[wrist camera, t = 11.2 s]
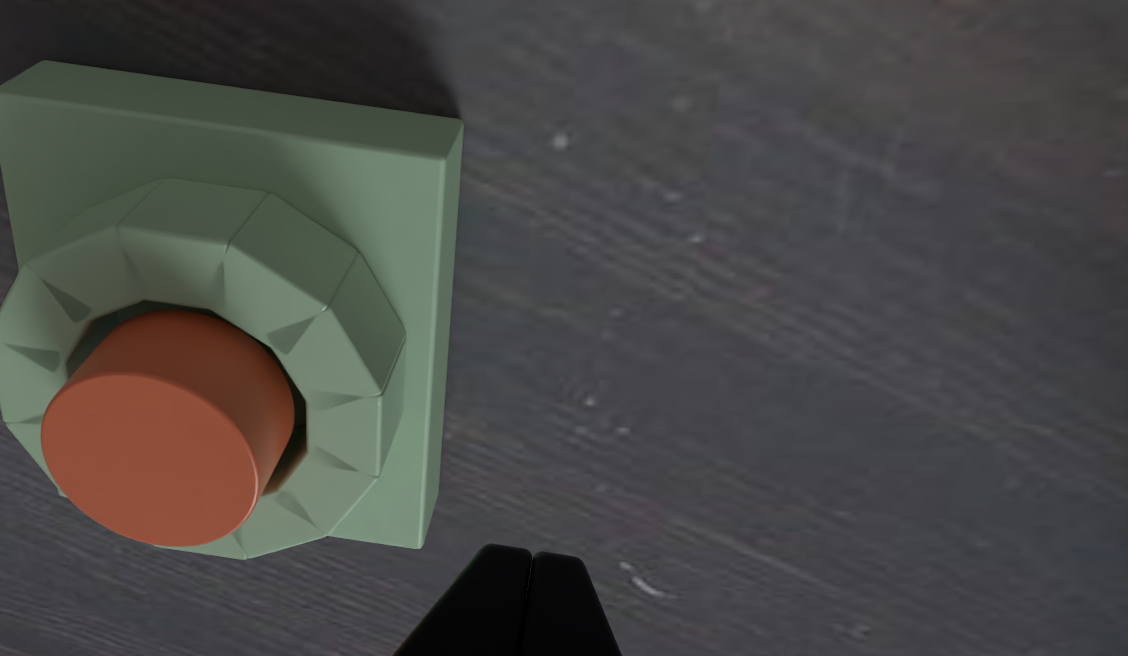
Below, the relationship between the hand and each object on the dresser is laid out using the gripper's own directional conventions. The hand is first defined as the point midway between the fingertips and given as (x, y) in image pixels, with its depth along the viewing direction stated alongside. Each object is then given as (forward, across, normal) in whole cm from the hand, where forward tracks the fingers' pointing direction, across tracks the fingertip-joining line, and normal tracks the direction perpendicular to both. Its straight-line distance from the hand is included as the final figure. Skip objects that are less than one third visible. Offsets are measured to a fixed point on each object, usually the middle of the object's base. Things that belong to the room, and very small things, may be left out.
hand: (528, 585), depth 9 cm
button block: (+10, +6, +4) cm, 12 cm away
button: (+7, +6, +4) cm, 9 cm away
